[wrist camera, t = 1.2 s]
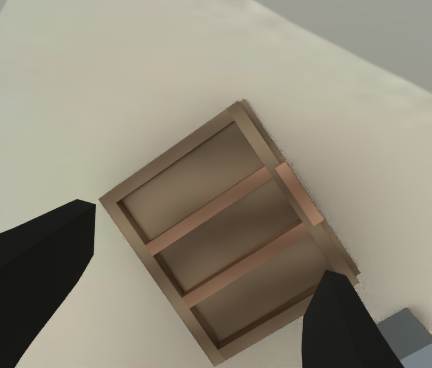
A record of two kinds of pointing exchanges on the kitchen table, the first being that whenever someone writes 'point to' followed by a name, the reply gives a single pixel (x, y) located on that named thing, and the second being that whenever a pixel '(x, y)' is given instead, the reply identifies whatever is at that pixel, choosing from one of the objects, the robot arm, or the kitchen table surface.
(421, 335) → the blue-gray rectangular block
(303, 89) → the kitchen table surface
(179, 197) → the rack
